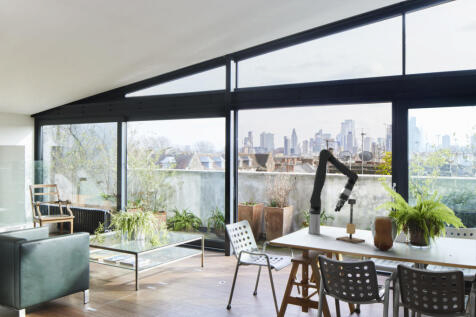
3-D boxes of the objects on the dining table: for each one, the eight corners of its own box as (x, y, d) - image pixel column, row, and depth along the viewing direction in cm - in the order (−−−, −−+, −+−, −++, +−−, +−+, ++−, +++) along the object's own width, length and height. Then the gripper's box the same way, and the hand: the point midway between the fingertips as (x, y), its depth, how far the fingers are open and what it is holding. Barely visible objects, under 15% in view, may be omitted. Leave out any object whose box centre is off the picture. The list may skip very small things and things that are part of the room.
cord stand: (336, 239, 346) (337, 198, 346) (346, 238, 355) (347, 197, 355) (355, 243, 332) (356, 200, 332) (365, 241, 341) (366, 199, 341)
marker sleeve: (346, 233, 344) (346, 223, 344) (349, 232, 347) (350, 222, 347) (351, 234, 340) (352, 224, 340) (355, 233, 343) (355, 223, 343)
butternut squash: (384, 247, 320) (385, 215, 320) (396, 251, 307) (397, 217, 307) (369, 248, 315) (370, 215, 315) (381, 252, 302) (382, 218, 302)
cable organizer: (413, 241, 348) (414, 227, 348) (411, 243, 339) (411, 229, 339) (395, 239, 356) (395, 225, 356) (392, 241, 347) (392, 227, 347)
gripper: (338, 192, 366) (330, 209, 363) (343, 191, 351) (335, 209, 349) (346, 197, 365) (338, 213, 363) (351, 196, 351) (343, 213, 349)
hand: (336, 211), depth 356 cm, fingers open, 8 cm apart
